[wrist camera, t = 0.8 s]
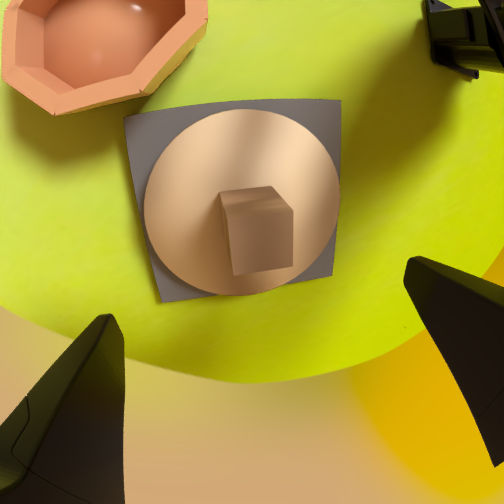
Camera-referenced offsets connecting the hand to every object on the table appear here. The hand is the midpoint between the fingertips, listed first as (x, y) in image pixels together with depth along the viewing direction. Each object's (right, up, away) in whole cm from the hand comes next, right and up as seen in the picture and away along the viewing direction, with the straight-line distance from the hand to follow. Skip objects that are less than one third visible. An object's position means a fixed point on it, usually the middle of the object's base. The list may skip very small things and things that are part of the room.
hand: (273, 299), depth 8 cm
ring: (-9, +15, +4) cm, 18 cm away
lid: (-1, +4, +10) cm, 11 cm away
